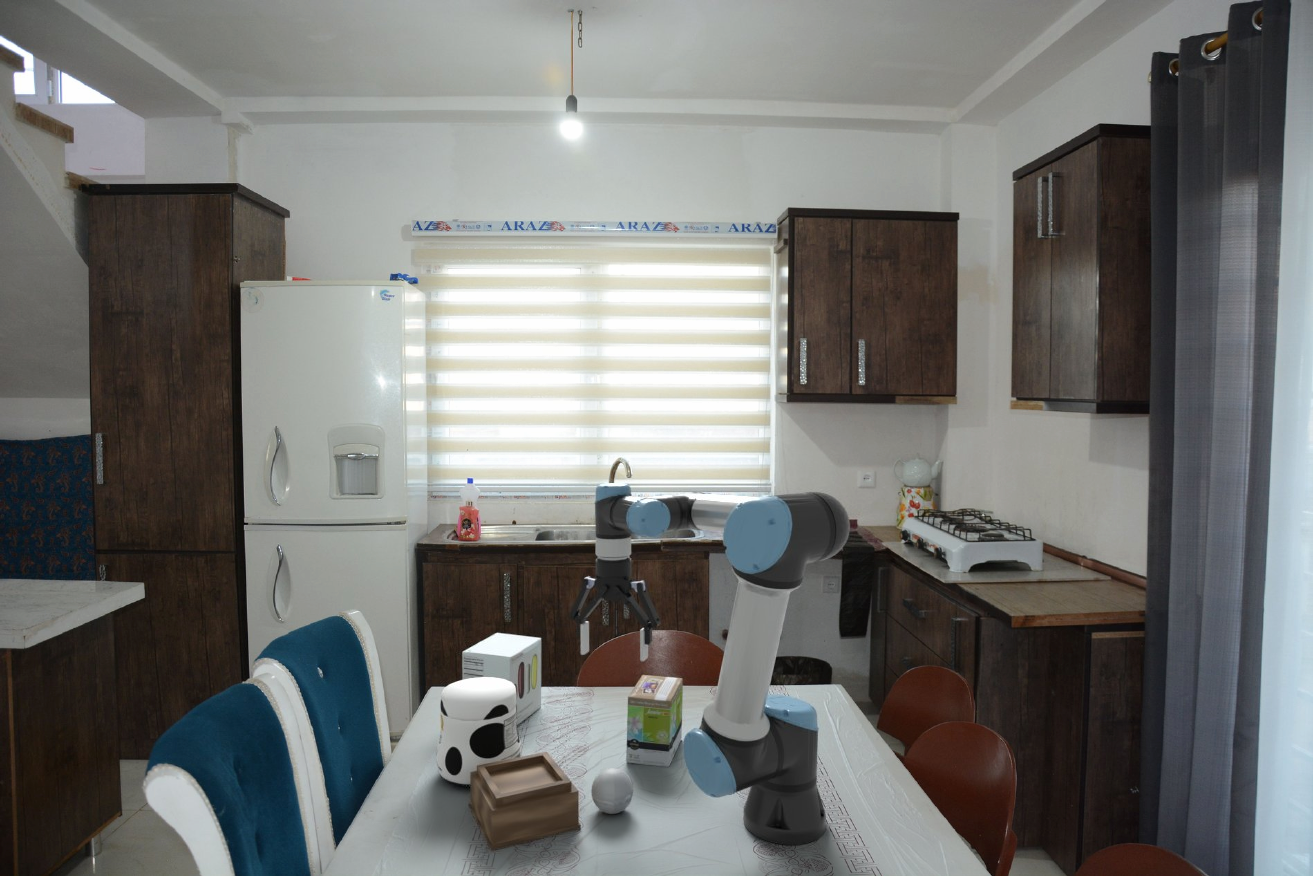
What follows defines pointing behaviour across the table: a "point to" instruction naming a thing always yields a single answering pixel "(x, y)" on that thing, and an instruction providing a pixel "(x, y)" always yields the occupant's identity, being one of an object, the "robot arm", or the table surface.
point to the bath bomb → (612, 790)
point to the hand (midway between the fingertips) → (614, 656)
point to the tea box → (654, 720)
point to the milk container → (476, 726)
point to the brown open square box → (523, 800)
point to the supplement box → (509, 667)
